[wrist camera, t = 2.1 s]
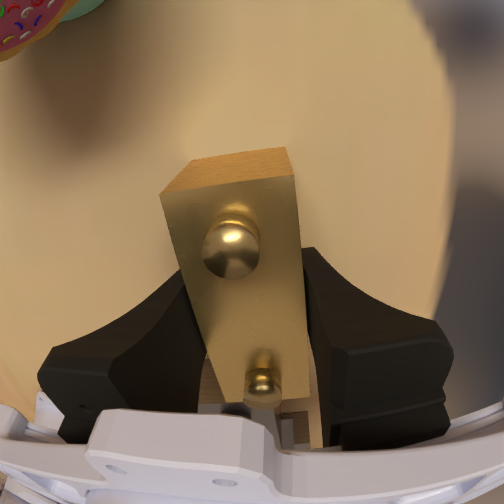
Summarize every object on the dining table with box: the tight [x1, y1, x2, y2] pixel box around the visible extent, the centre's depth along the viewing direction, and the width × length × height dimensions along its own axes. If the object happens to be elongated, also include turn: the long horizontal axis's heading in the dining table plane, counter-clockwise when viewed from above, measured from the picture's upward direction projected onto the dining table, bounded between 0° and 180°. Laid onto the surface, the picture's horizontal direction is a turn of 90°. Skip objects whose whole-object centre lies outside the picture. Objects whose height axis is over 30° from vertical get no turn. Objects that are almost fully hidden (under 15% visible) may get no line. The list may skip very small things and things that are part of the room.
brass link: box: [159, 147, 310, 410], centre depth 11 cm, size 9×4×5 cm, turn 9°
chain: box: [198, 360, 310, 450], centre depth 20 cm, size 23×8×4 cm, turn 9°
